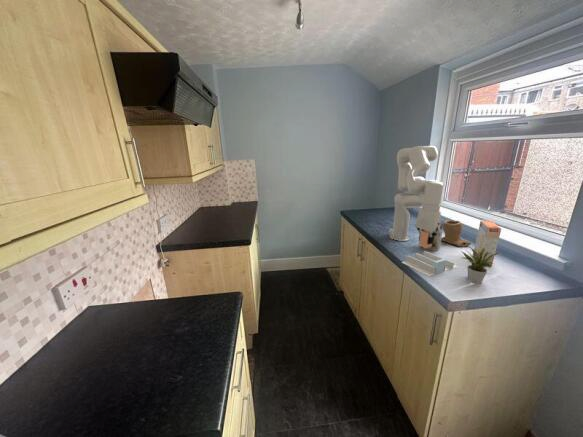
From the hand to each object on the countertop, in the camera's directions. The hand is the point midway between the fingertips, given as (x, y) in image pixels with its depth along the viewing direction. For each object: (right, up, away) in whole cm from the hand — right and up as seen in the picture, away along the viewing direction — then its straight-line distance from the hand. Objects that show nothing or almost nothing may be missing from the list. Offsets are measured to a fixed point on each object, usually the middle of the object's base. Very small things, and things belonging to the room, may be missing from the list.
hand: (425, 241), depth 118 cm
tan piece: (+37, -4, +32) cm, 49 cm away
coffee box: (+16, -7, +24) cm, 30 cm away
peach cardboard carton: (0, -2, +1) cm, 2 cm away
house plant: (+18, -17, -10) cm, 27 cm away
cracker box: (+36, -11, +9) cm, 39 cm away
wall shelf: (+4, -13, +4) cm, 14 cm away
